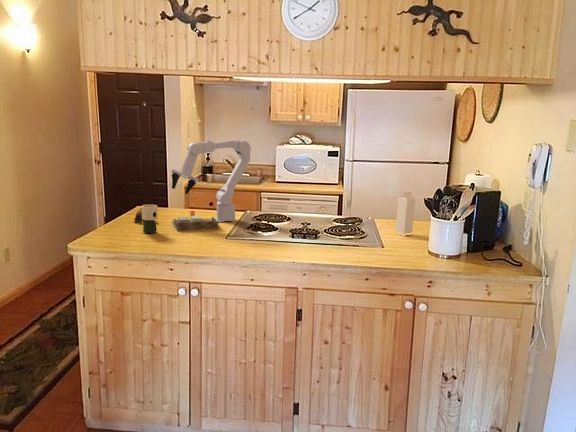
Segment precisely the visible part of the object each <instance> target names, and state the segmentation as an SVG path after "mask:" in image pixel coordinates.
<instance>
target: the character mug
mask: <svg viewBox="0 0 576 432" xmlns="http://www.w3.org/2000/svg"><path fill="white" fill-rule="evenodd" d="M141 208H142V219H143V220H145V221H144V222H143V227H142V228H143V229H142V232H143V233H148V234H154V233H157V232H158V230H157V223H156V220H158V205H156V204H143V205H141Z"/></svg>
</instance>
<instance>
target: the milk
mask: <svg viewBox="0 0 576 432" xmlns="http://www.w3.org/2000/svg"><path fill="white" fill-rule="evenodd" d="M397 201H398V202H397V210H396V212H397V213H396V222H395V231H396V232H400V233H403V234H406V233H411V232H412V233H413V227H414V217H415V210H416V209H415V207H416V198H415V197H414V196H413V194H412V191H407V192H403V193H402V195H401V196H399V197H398V200H397Z"/></svg>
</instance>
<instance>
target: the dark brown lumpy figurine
mask: <svg viewBox="0 0 576 432" xmlns="http://www.w3.org/2000/svg"><path fill="white" fill-rule="evenodd" d="M135 213H136V214H135V217H134V219H133V220H134V221H133V222H134V223H137V224H142V222H143V223H144V221H145V220H143V219H142V207H140V209H139V210H138V211H136V212H135Z"/></svg>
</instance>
